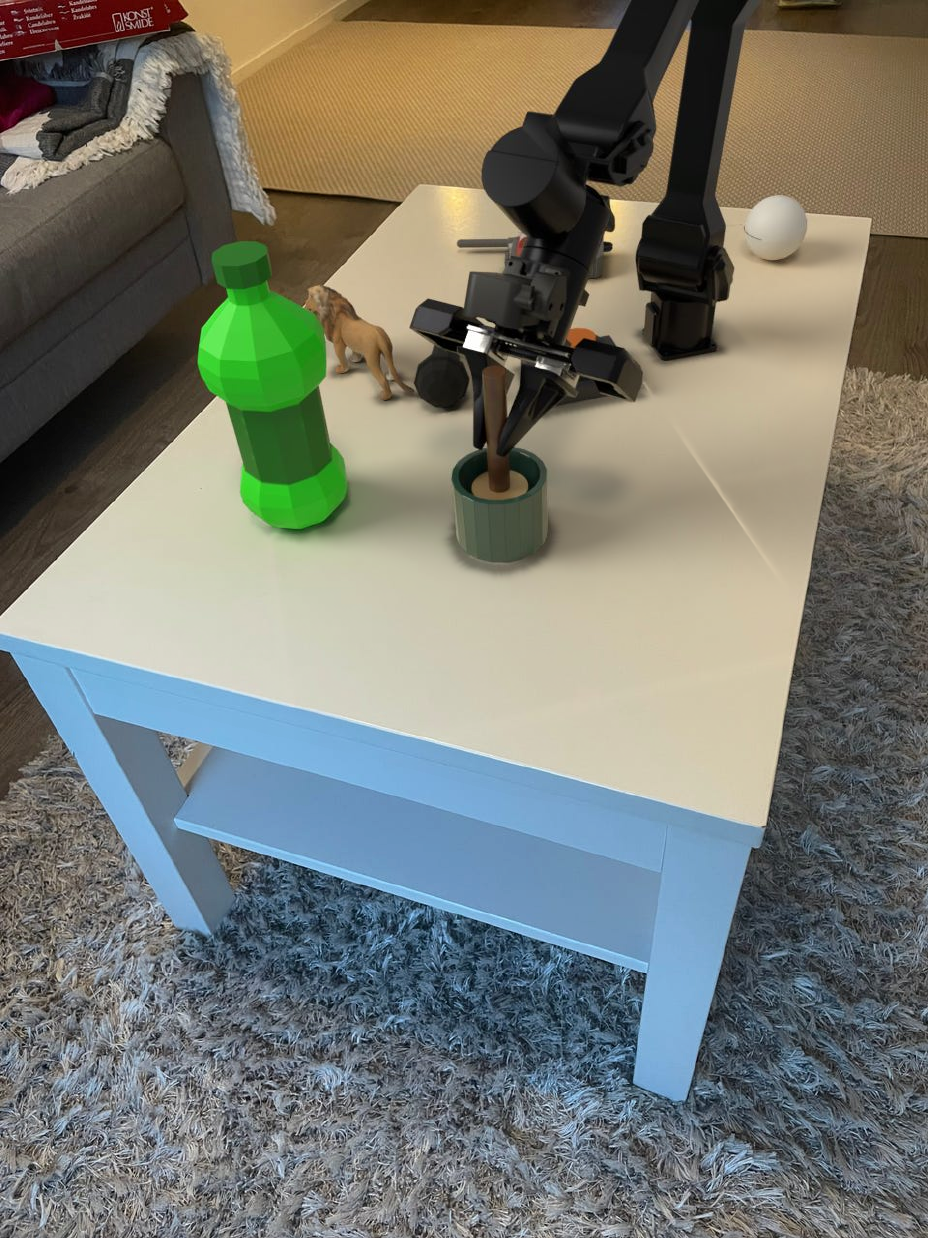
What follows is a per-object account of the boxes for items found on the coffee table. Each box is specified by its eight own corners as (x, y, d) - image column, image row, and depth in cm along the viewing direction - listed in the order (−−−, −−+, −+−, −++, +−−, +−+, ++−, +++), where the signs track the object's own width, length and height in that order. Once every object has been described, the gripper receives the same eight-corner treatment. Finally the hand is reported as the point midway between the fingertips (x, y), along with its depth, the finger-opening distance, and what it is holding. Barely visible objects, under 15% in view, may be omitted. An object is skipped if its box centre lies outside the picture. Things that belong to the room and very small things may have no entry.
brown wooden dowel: (520, 496, 86) (515, 350, 75) (535, 529, 82) (532, 381, 72) (468, 506, 85) (456, 361, 75) (481, 540, 82) (470, 393, 72)
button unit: (608, 352, 106) (609, 319, 103) (636, 395, 100) (639, 361, 97) (520, 369, 105) (519, 335, 102) (544, 413, 99) (543, 379, 96)
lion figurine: (303, 367, 108) (287, 291, 102) (336, 346, 111) (323, 272, 104) (398, 408, 101) (388, 330, 95) (432, 385, 104) (424, 307, 97)
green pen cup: (533, 501, 89) (532, 438, 84) (558, 557, 83) (559, 493, 78) (448, 518, 88) (442, 455, 83) (468, 576, 82) (463, 512, 77)
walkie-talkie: (612, 247, 124) (458, 249, 126) (614, 213, 121) (456, 216, 123) (611, 279, 118) (450, 281, 120) (613, 244, 114) (447, 246, 117)
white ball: (804, 246, 120) (816, 186, 115) (797, 273, 116) (809, 212, 110) (723, 239, 123) (731, 180, 118) (713, 265, 118) (721, 205, 113)
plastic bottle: (311, 465, 95) (255, 212, 77) (378, 511, 89) (335, 249, 71) (225, 514, 90) (145, 256, 73) (291, 565, 85) (221, 300, 67)
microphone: (439, 347, 115) (425, 425, 99) (420, 303, 112) (403, 376, 96) (481, 332, 113) (475, 408, 98) (464, 286, 110) (454, 358, 95)
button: (589, 340, 101) (589, 325, 100) (600, 357, 99) (600, 341, 97) (556, 346, 101) (556, 331, 99) (566, 363, 98) (566, 348, 97)
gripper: (409, 197, 72) (343, 397, 74) (635, 243, 65) (555, 465, 66) (472, 255, 82) (412, 430, 84) (674, 301, 75) (603, 492, 76)
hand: (488, 452), depth 77 cm, fingers closed on brown wooden dowel, 2 cm apart
